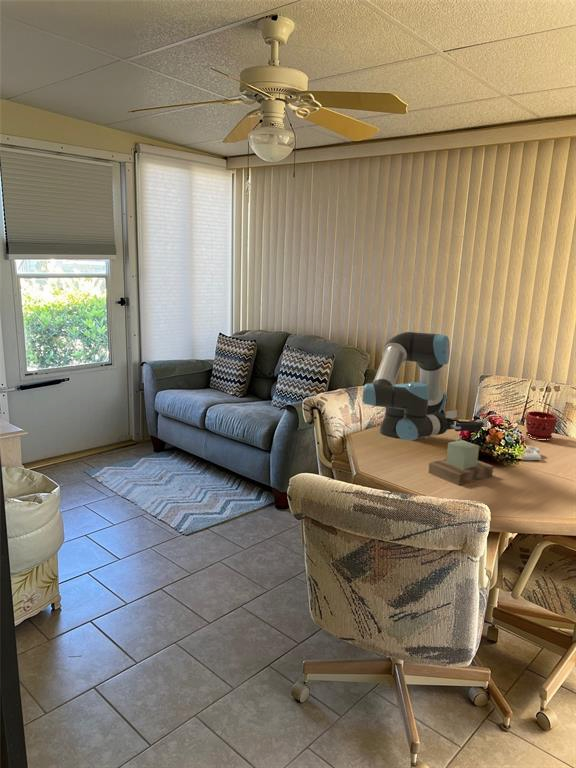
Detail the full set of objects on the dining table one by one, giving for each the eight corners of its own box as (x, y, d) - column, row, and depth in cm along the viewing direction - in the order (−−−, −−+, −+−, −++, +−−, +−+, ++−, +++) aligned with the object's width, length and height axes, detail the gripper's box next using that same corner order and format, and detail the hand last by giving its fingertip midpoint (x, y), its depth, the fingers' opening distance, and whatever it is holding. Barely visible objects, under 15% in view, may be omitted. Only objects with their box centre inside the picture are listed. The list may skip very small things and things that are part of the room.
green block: (459, 459, 221) (462, 439, 219) (476, 466, 214) (479, 445, 213) (445, 462, 216) (448, 442, 215) (463, 469, 210) (465, 448, 208)
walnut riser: (461, 464, 228) (463, 455, 227) (492, 475, 216) (493, 465, 216) (428, 472, 216) (429, 462, 215) (458, 485, 205) (459, 474, 204)
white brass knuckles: (506, 461, 236) (491, 450, 250) (548, 462, 237) (531, 451, 251) (507, 453, 235) (492, 442, 249) (549, 455, 236) (532, 444, 251)
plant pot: (520, 433, 278) (523, 409, 276) (548, 436, 277) (552, 412, 274) (527, 441, 266) (531, 416, 263) (557, 444, 264) (560, 419, 262)
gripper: (405, 426, 211) (443, 419, 223) (460, 445, 192) (498, 436, 204) (407, 406, 210) (445, 400, 222) (463, 423, 190) (501, 416, 202)
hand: (470, 418), depth 213 cm, fingers open, 13 cm apart
